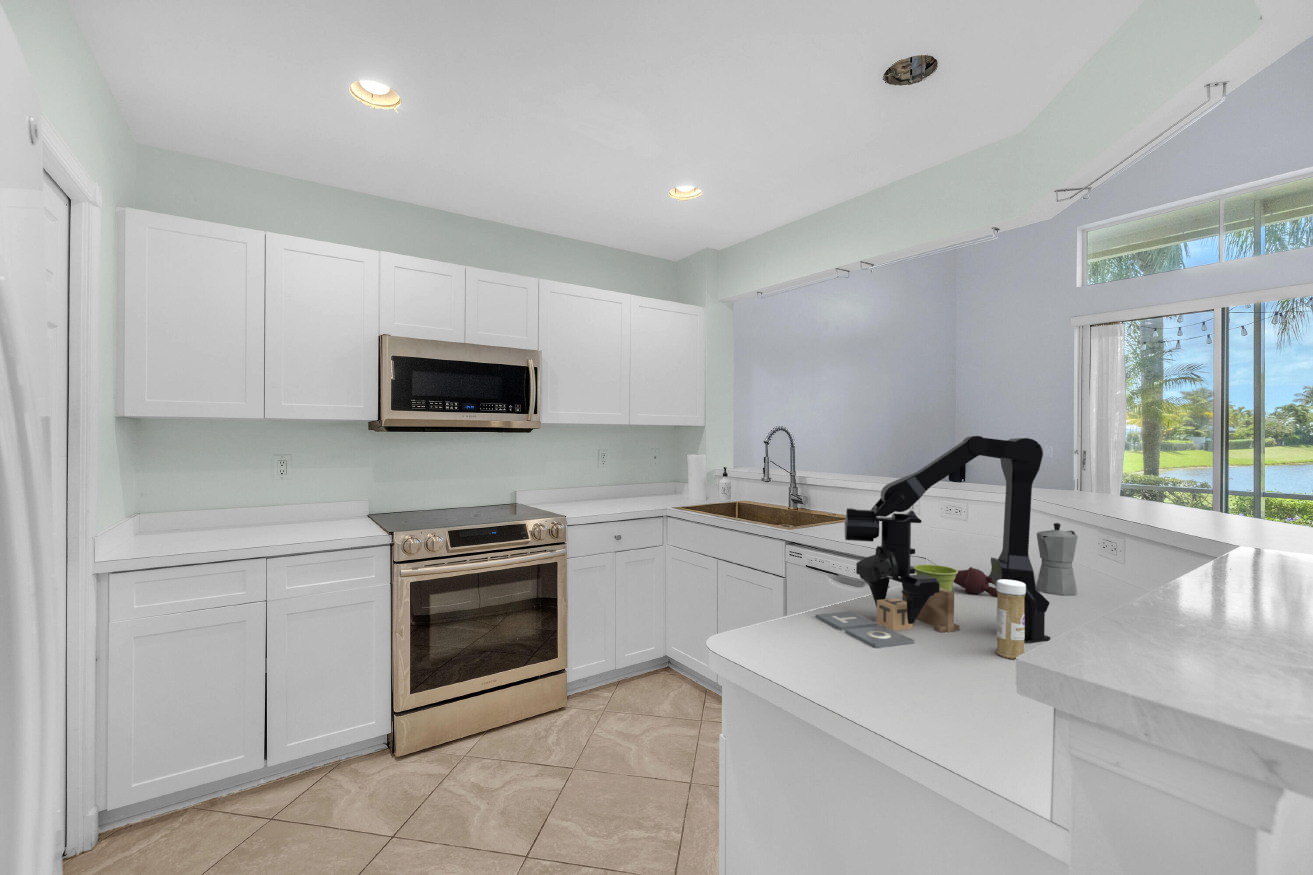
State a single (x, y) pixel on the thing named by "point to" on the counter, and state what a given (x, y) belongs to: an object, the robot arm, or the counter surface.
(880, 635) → the tile
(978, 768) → the counter surface
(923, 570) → the plant pot
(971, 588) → the dark red bulbous piece
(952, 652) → the counter surface
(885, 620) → the letter cube
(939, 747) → the counter surface
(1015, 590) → the sprinkles bottle
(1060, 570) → the coffeepot
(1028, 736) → the counter surface
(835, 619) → the tile
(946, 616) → the screen
